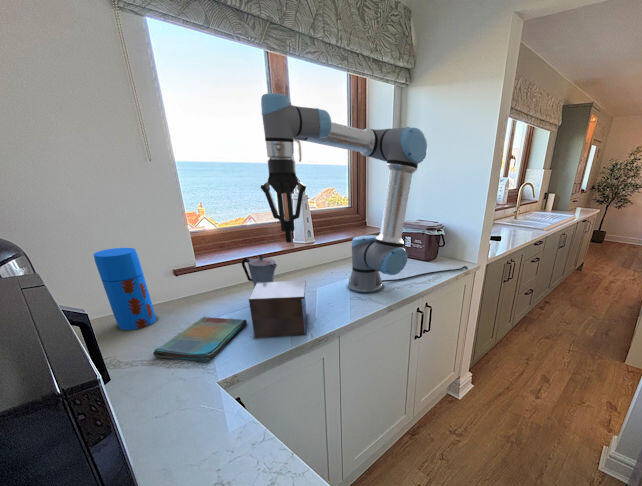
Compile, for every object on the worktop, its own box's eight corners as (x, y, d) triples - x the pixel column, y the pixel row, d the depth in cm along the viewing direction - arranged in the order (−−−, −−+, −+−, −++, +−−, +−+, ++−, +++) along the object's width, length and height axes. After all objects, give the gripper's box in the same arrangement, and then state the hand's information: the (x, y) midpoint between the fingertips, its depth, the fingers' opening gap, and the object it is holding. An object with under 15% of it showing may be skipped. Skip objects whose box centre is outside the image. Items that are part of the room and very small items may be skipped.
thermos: (117, 321, 112) (92, 250, 102) (154, 312, 118) (134, 245, 108) (119, 333, 104) (93, 258, 94) (158, 324, 111) (137, 253, 100)
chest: (306, 315, 119) (303, 282, 114) (304, 334, 106) (301, 299, 101) (262, 317, 117) (257, 284, 112) (254, 338, 104) (249, 301, 98)
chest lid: (306, 282, 114) (305, 280, 114) (304, 299, 101) (304, 296, 101) (257, 284, 112) (257, 282, 111) (248, 301, 98) (248, 299, 98)
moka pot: (276, 310, 122) (269, 259, 114) (239, 306, 125) (230, 256, 117) (287, 300, 131) (282, 252, 123) (253, 296, 134) (246, 249, 125)
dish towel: (151, 358, 92) (149, 350, 91) (201, 320, 113) (200, 314, 112) (209, 362, 91) (207, 355, 90) (248, 323, 112) (247, 317, 111)
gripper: (254, 158, 86) (265, 244, 96) (304, 159, 89) (310, 244, 98) (259, 158, 93) (269, 239, 103) (305, 159, 95) (311, 238, 105)
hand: (289, 241), depth 100 cm, fingers closed
